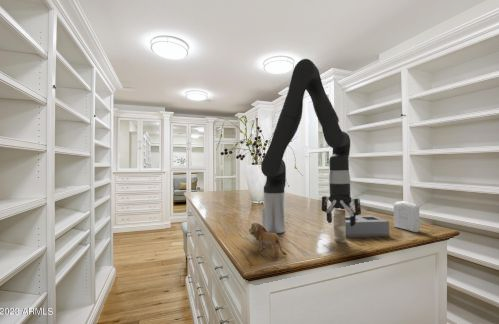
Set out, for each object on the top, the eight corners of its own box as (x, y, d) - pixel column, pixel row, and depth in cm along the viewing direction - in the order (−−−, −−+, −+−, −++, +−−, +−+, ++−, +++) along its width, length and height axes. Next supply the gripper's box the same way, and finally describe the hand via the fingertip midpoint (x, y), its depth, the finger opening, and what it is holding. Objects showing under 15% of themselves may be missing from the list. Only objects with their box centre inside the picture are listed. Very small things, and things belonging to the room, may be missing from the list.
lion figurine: (246, 248, 83) (246, 223, 83) (256, 244, 87) (255, 220, 87) (282, 259, 74) (282, 230, 74) (290, 254, 78) (290, 226, 78)
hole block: (346, 237, 95) (345, 222, 95) (333, 229, 107) (333, 216, 107) (389, 236, 96) (389, 221, 96) (372, 228, 108) (372, 215, 108)
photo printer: (421, 231, 102) (420, 202, 102) (415, 232, 100) (414, 203, 100) (398, 225, 111) (397, 199, 111) (392, 227, 110) (391, 200, 110)
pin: (333, 241, 90) (333, 210, 90) (335, 238, 93) (335, 208, 93) (344, 243, 88) (344, 211, 88) (346, 240, 91) (346, 209, 91)
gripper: (317, 182, 93) (319, 223, 92) (355, 183, 83) (357, 229, 83) (325, 181, 98) (327, 220, 98) (362, 182, 89) (363, 225, 88)
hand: (340, 224), depth 90 cm, fingers open, 8 cm apart
